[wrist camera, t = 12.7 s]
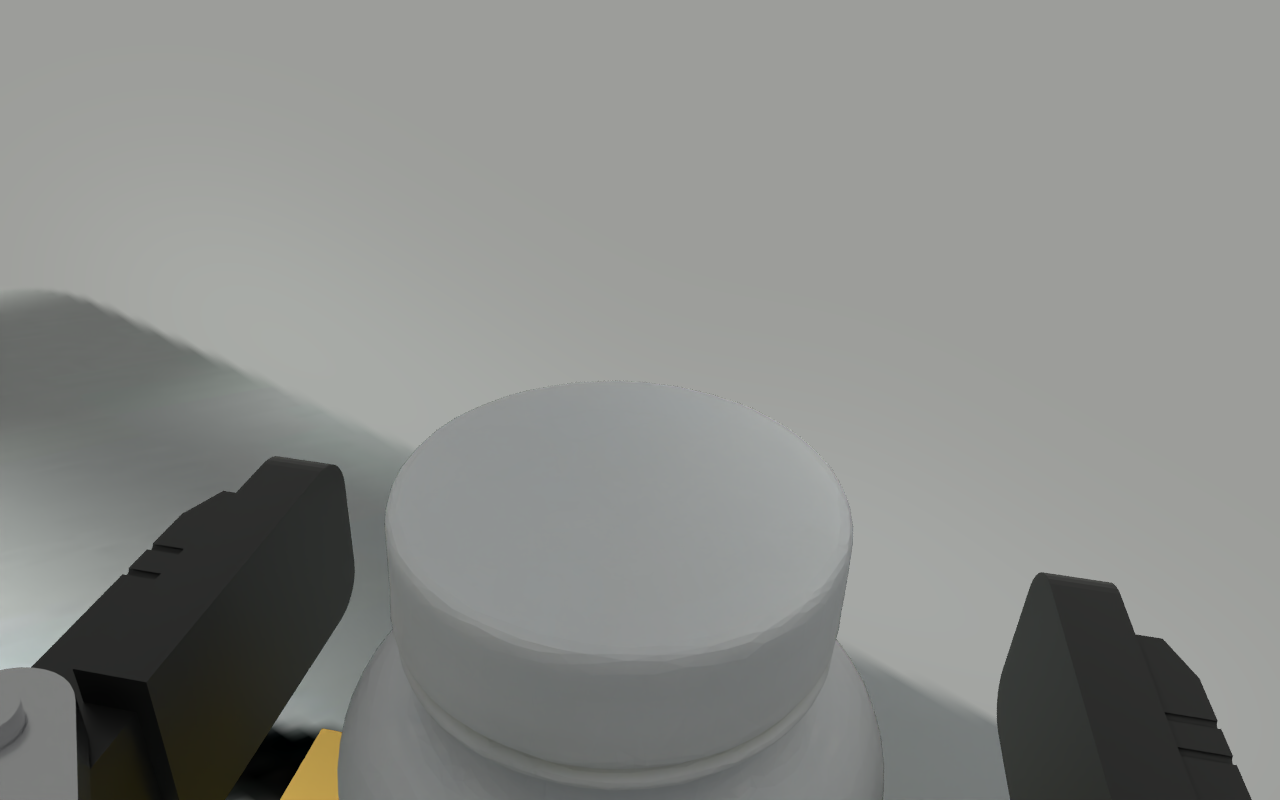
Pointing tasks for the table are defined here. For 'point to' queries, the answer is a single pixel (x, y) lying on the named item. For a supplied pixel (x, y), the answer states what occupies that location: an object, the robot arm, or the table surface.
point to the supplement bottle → (614, 610)
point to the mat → (317, 770)
